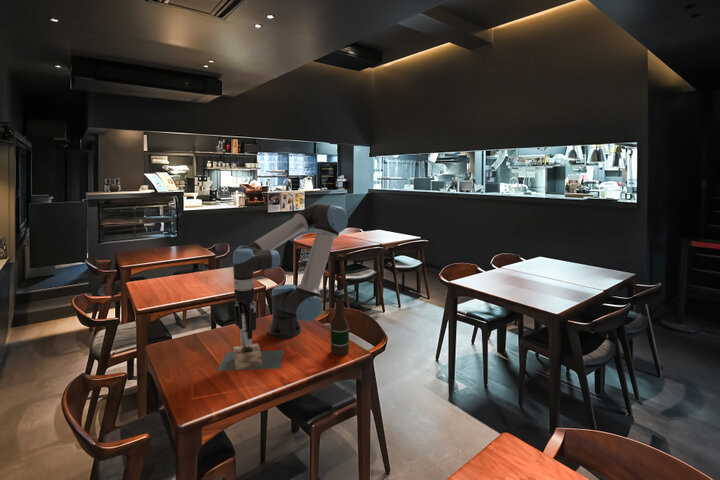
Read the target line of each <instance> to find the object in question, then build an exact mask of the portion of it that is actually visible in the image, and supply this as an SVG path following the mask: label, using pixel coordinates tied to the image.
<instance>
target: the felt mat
mask: <svg viewBox="0 0 720 480" xmlns="http://www.w3.org/2000/svg"><path fill="white" fill-rule="evenodd" d="M260 351H261V359H262V365H260V366H254V367H248V368H242V369H236V370H235V363H234V353H233V351H226V353H225V355H224V357H223V358H222V360H221V362H220V364H219V366H218V368H217V370H216V371H217V372H219V371H223V372H224V371H242V370H243V371H247V370H249V371H250V370H269V369H270V370H272V369H273V370H274V369H275V370H277V369H281V367H282V366H281V364H282V360H283V357H284V352H285V350H284V349H281V350H278V349H277V350H275V349H274V350H260Z"/></svg>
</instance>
